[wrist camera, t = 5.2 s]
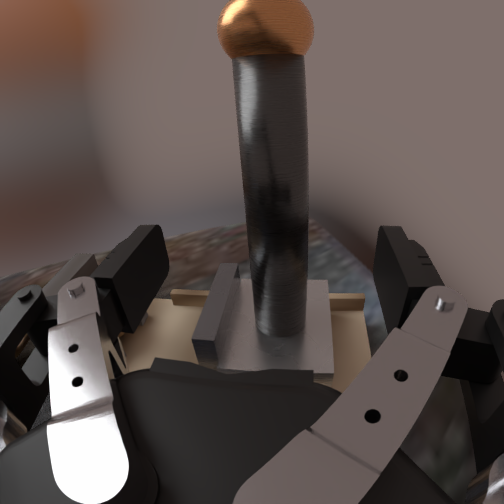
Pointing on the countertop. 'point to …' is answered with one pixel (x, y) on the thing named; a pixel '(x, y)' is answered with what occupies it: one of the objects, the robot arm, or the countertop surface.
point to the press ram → (269, 205)
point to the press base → (187, 315)
